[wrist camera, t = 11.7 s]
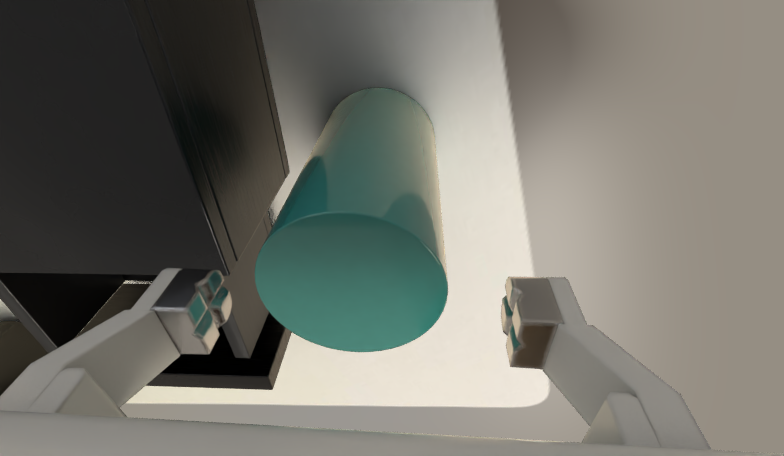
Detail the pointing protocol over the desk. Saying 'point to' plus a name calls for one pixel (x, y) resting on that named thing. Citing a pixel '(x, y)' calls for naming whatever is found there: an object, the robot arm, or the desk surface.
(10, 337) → the ink bottle
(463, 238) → the desk surface
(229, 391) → the desk surface
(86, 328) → the drawer
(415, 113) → the teal cylinder
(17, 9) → the cabinet
